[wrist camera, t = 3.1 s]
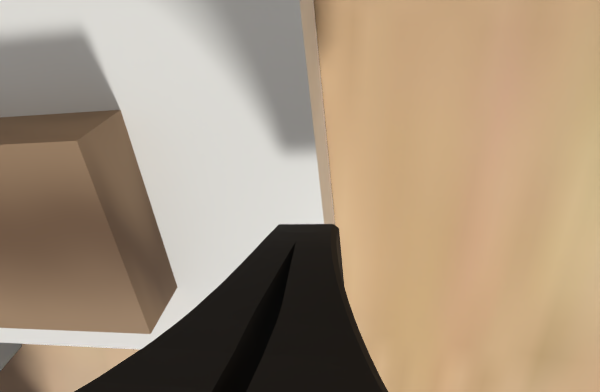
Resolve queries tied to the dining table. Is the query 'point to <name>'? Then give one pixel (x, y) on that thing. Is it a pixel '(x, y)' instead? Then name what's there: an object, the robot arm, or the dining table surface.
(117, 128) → the tile
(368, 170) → the dining table surface
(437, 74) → the dining table surface
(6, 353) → the box
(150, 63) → the board
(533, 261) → the dining table surface
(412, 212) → the dining table surface
